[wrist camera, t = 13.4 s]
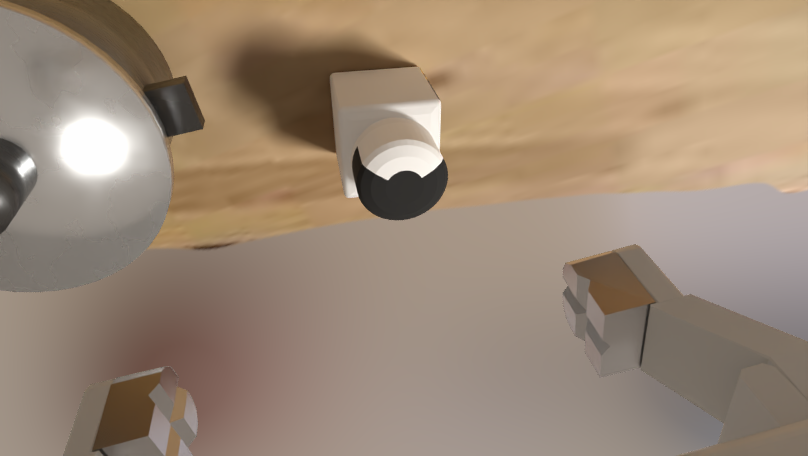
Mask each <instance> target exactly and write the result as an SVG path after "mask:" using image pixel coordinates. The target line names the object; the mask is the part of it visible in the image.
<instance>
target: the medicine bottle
mask: <svg viewBox="0 0 808 456" xmlns="http://www.w3.org/2000/svg"><path fill="white" fill-rule="evenodd" d="M330 88H331V99H332V110H333V122H334V133H335V144H336V154H337V159H338V164H339V170H340V175H341V180H342V185H343V190H344V194H345V196H346V197H347V198H353V197H359V199H360V200H361V202H362V204H363V205H364V206H365V207H366V208H367V209H368V210H369V211H370V212H371V213H373V214H375V215H376V216H378V217H381V218H384V219H389V220H404V219H410V218H414V217H416V216H419V215H421V214H423V213H425V212H426V211H428V210H429V209H431V208H432V207H433V206H434V205H435V204H436V203H437V202H438V201H439V199H440V198H441V196H442V195H443V193H444V191H445V188H446V185H447V180H448V171H447V166H446V163H445V161H444V159H443V157H442V155H441V153H440V122H441V101H440V99H439V98H438V96H437V94H436V93H435V91H434V90H433V88H432V86H431V85H430V83H429V81H428V80H427V78H426V76H425V75H424V73H423V72H422V70H421V69H420V68H419V67H404V68H391V69H378V70H364V71H351V72H338V73H332V74H331V75H330Z"/></svg>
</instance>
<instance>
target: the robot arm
mask: <svg viewBox="0 0 808 456" xmlns="http://www.w3.org/2000/svg"><path fill="white" fill-rule="evenodd" d="M563 278H564V280H565V282H566V283H567V285H568V286H567V288H566V289H565V291H564V292H563V307H564V311H565V315H566V319H567V321H568V323H569V326H570V328H571V329H572V331H573V333H574V335H575V336H576V337H578V338H580V339H582V340H584V341H585V353H586V355H587V357H588V358H589V360H590V362H591V363H592V365H593V367H594V368H595V370H596V372H597V373H598V375H599V377H604V376H608V375H613V374H617V373H621V372H625V371H629V370H634V369H638V368H641V370H642V371H643V372H645V373H646V374H648V375H649V376H651V377H652V378H654V379H656V380H657V381H659V382H660V383H662V384H664V385H665V386H666V387H668V388H670V389H671V390H673V391H674V392H676V393H678V394H679V395H680V396H682V397H683V398H685V399H687V400H688V401H690V402H692V403H693V404H694V405H696V406H697V407H699V408H701V409H702V410H704V411H705V412H707V413H708V414H710V415H711V416H713V417H715V418H716V419H718V420H719V421H721V422H722V423H724V426H723V429H722V432H721V435H720V438H719V441H718V444H717V445H713V446H709V447H706V448H702V449H698V450H695V451H691V452H688V453H684V454H681V455H677V456H808V342H807V341H805V340H802V339H800V338H797V337H795V336H793V335H790V334H788V333H785V332H783V331H780V330H777V329H775V328H773V327H770V326H768V325H765V324H763V323H761V322H758V321H755V320H753V319H751V318H748V317H746V316H743V315H741V314H738V313H736V312H733V311H731V310H728V309H726V308H724V307H721V306H719V305H716V304H714V303H711V302H709V301H706V300H704V299H701V298H699V297H696V296H694V295H691V294H690V295H685V296H683V294H682V293H681V292H680V291H679V290H678V289H677V288H676V287H675V286H674V284H673V283H672V282H671V281H670V280H669V279H668V278H667V277H666V275H665V274H664V273H663V272H662V271H661V270H660V268H659V267H658V266H657V265H656V264H655V263H654V262H653V260H652V259H651V258H650V257H649V256H648V255H647V254H646V253H645V252H644V250H643V249H642V248H641V247H640V246H638V245H636V244H634V245H630V246H627V247H623V248H619V249H616V250H612V251H609V252H605V253H601V254H598V255H593V256H590V257H586V258H582V259H579V260H575V261H571V262H567V263H565V265H564V267H563ZM177 383H178V376H177V374H176V373H175V372H174V370H173V369H172V368H171V367H161V368H158V369H153V370H149V371H145V372H140V373H136V374H132V375H127V376H123V377H119V378H116V379H112V380H108V381H103V382H99V383H95V384H91V385H90V386H89V387H88V388H87V389H86V390H85V392H84V395H83V397H82V400H81V403H80V406H79V409H78V412H77V415H76V418H75V421H74V424H73V428H72V430H71V434H70V436H69V439H68V442H67V445H66V448H65V451H64V454H63V456H193V455H192V453H191V452H190V450H189V449H188V447H189V446H190V444H191V443H192V442H193V440H194V439H195V438H196V435H197V426H198V421H197V412H196V407H195V404H194V401H193V399H192V397H191V396H190V394H189V392H188V391H187V390H184V389H182V388H179V387H177Z"/></svg>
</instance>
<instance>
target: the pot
mask: <svg viewBox="0 0 808 456" xmlns="http://www.w3.org/2000/svg"><path fill="white" fill-rule="evenodd" d="M4 1H8V2H11V3H14V4H17V5H20V6H23V7H25V8H28V9H31V10H34V11H36V12H38V13H41V14H43V15H45V16H47V17H49V18H51V19H53V20H56V21H58V22H60V23H62V24H63V25H65V26H67V27H68V28H70V29H72V30H73V31H75V32H77V33H78V34H80V35H82V36H83V37H85V38H86V39H88V40H89V41H90V42H92V43H93V44H95V45H96V46H97V47H99V48H100V49H101V50H103V51H104V52H105V53H107V54H108V55H109V56H110V57H111V58H112V59H113V60H114V61H115V62H116V63H117V64H119V65H120V66H121V67H122V68H123V69H124V70H125V71H126V72H127V73H128V74H129V76H130V77H131V78H132V79H133V80H134V81H135V82H136V84H137V85H138V86H139V87H140V88H141V90H142V91H143V92H144V94H145V95H146V97H147V98H148V100H149V101H150V102H151V104H152V105H153V107H154V109H155V111H156V113H157V115H158V116H159V118H160V120H161V122H162V124H163V127H164V129H165V132H166V135H167V138H168V140H169V143H170V144H171V141H172V138H173V136H175V135H179V134H183V133H187V132H192V131H196V130H200V129H203V126H204V122H205V120H204V117H203V115H202V113H201V110H200V108H199V105H198V103H197V101H196V98H195V96H194V93H193V91H192V89H191V86H190V84H189V81H188V79H187V77H186V76H183V77H179V78H174V79H173V77H172V74H171V71H170V68H169V66H168V64H167V62H166V60H165V58H164V56H163V54H162V53H161V51H160V50H159V48H158V47H157V45H156V44H155V42H154V41H153V39H152V38H151V37H150V36H149V35H148V33H147V32H146V31H145V30H144V29H143V27H142V26H141V25H140V24H138V23H137V22H136V21H135V20H134V19H133V18H132V17H131V16H130V15H129V14H128V13H126V12H125V11H124V10H123V9H121V8H120V7H119V6H117V5H116V4H115V3H113V2H112V1H110V0H4Z"/></svg>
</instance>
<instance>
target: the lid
mask: <svg viewBox="0 0 808 456" xmlns="http://www.w3.org/2000/svg"><path fill="white" fill-rule="evenodd" d="M173 182H174V167H173V157H172V153H171V148H170V143H169V140H168V138H167V135H166V132H165V129H164V127H163V124H162V122H161V120H160V118H159V116H158V115H157V113H156V111H155V109H154V107H153V105H152V104H151V102H150V101H149V100H148V98H147V97H146V95H145V94H144V92H143V91H142V90H141V88H140V87H139V86H138V85H137V84H136V82H135V81H134V80H133V79H132V78H131V77H130V76H129V74H128V73H127V72H126V71H125V70H124V69H123V68H122V67H121V66H120V65H119V64H117V63H116V62H115V61H114V60H113V59H112V58H111V57H110V56H109V55H108V54H107V53H105V52H104V51H103V50H101V49H100V48H99V47H97V46H96V45H95V44H93V43H92V42H90V41H89V40H88V39H86V38H85V37H83V36H82V35H80V34H78V33H77V32H75V31H73V30H72V29H70V28H68V27H67V26H65V25H63V24H62V23H60V22H58V21H56V20H53V19H51V18H49V17H47V16H45V15H43V14H41V13H38V12H36V11H34V10H31V9H28V8H25V7H23V6H20V5H17V4H14V3H11V2H8V1H4V0H0V290H2V291H13V292H44V291H57V290H63V289H69V288H74V287H79V286H82V285H86V284H89V283H92V282H96V281H98V280H100V279H103V278H105V277H108V276H110V275H112V274H114V273H115V272H117V271H119V270H121V269H123V268H124V267H126V266H127V265H128V264H130V263H131V262H132V261H134V260H135V259H136V258H138V257H139V256H140V255H141V254H142V253H143V252H144V251H145V250H146V249H147V248H148V247H149V245H150V244H151V243H152V241H153V240H154V238H155V237H156V236H157V234H158V233H159V231H160V228H161V226H162V224H163V222H164V220H165V217H166V214H167V210H168V207H169V203H170V200H171V196H172V191H173Z"/></svg>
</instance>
